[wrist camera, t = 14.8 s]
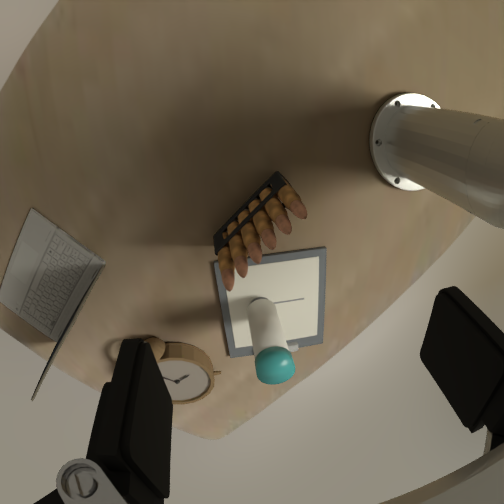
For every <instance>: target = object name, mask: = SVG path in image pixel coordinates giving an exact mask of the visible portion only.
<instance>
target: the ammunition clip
mask: <svg viewBox="0 0 504 504" xmlns="http://www.w3.org/2000/svg"><path fill="white" fill-rule="evenodd" d="M278 197H279V198H280V200H281V201H282V202H283V203H281V202H280V200H279V199H278ZM285 207H286V208H288V209H289V210H290V211H291V212H293V214H294V215H295V216H297V217H298V218H300V219H306V218H307V210H306V208H305V206H304V204H303V203H302V201H301V198H300V196H299V195H298V194H297V193H296V191H295V190H294V189H293V188H292V186H291V185H290V183H289V182H288V181H287V180H286V179H285V178H284V177H283V176H282V175H281V174H280V173H279V172H278V171H276V172H275V173H274V174H273V175H272V176H271V177H270V178H269V179H268V180H267V181H266V182H265V183H264V184H263V185H262V186H261V187H260V188H259V189H258V190H257V191H256V192H255V193H254V194H253V195H252V196H251V197H250V199H249V200H248V201H247V202H246V203H245V204H244V205H243V206H242V207H241V208H240V209H239V210H238V211H237V212H236V213H235V214H234V215H233V216H232V217H231V218H230V219H229V220H228V221H227V222H226V223H225V224H224V225H223V226H222V228H221V229H220V230H219V231H218V232H217V233H216V234H215V235H214V237H213V238H214V248H215V254H216V255H218V263H219V269H220V272H221V276H222V281H223V284H224V287H225V288H226V290H227V291H229V292H230V291H231V290H232V289H233V286H234V281H235V268H236V271H237V273H238V274H239V276H240V277H242V278H245V277H246V275H247V272H248V262H247V261H248V260H247V256H248V253H249V256H250V258H251V259H252V260H253V262H254V263H256V264H259V263H260V262H261V259H262V250H261V245H260V241H261V240H260V237H259V235H260V236H261V238H262V240H263V242H264V243H265V245H266V246H267V247H268V248H269V249H272V250H274V249H275V247H276V236H275V233H274V227H273V224H272V221H273V222H274V223H275V224H276V225H277V227H278V228H279V229H280V230H281V231H282V232H283V233H285V234H290V233H291V231H292V226H291V223H290V220H289V218H288V216H287V211H286V209H285ZM267 212H268V213H267ZM268 214H269V215H268Z"/></svg>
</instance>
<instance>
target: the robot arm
mask: <svg viewBox="0 0 504 504" xmlns="http://www.w3.org/2000/svg"><path fill="white" fill-rule="evenodd" d="M376 140H377V143H375V142H376ZM370 152H371V156H372V159H373V163H374V165H375V167H376V169H377V171H378V172H379V173H380V175H381V176H382V177H383V178H384V179H385V180H386V181H387V182H388V183H390V184H391V185H393V186H395V187H397V188H399V189H402V190H406V191H418V190H421V189H425V188H426V189H428V190H430V191H432V192H434V193H436V194H437V195H439V196H441V197H443V198H445V199H447V200H449V201H450V202H452V203H454V204H456V205H458V206H459V207H461V208H463V209H465V210H467V211H468V212H470V213H472V214H474V215H475V216H477V217H479V218H481V219H482V220H484V221H486V222H487V223H489V224H491V225H493V226H495V227H498V228H502V229H504V119H499V118H494V117H489V116H484V115H479V114H474V113H468V112H462V111H456V110H449V109H442V108H440V107H439V106H438V105H437V103H435V102H434V101H433V100H432V99H430V98H428V97H426V96H424V95H421V94H417V93H403V94H398V95H396V96H393V97H392V98H390V99H389V100H387V101H386V102H385V103H384V104H383V105H382V106H381V107H380V109H379V110H378V112H377V113H376V115H375V117H374V120H373V122H372V125H371V131H370ZM420 358H421V360H422V362H423V363H424V365H425V367H426V368H427V369H428V371H429V372H430V374H431V375H432V377H433V378H434V380H435V381H436V383H437V384H438V386H439V388H440V389H441V391H442V392H443V394H444V395H445V397H446V398H447V400H448V401H449V403H450V405H451V406H452V408H453V409H454V411H455V412H456V414H457V416H458V417H459V419H460V420H461V422H462V424H463V425H464V426H465V427H467V428H469V430H470V431H471V433H474V432H475V431H477V430H479V429H481V428H483V426H484V425H486V427H487V435H486V442H485V448H484V454H483V456H482V457H480V458H478V459H477V460H475V461H473V462H471V463H469V464H467V465H466V466H464V467H462V468H460V469H458V470H456V471H454V472H452V473H450V474H448V475H446V476H444V477H442V478H440V479H438V480H436V481H434V482H431V483H429V484H427V485H425V486H423V487H421V488H418V489H416V490H413V491H411V492H408V493H406V494H404V495H401V496H398V497H396V498H393V499H390V500H388V501H385V502H382V503H379V504H504V333H503V332H502V331H501V330H500V329H499V328H498V327H497V326H496V325H495V324H494V323H493V322H492V321H491V320H490V319H489V318H488V317H487V316H486V315H485V314H484V313H483V312H482V311H481V310H480V309H479V308H478V307H477V306H476V305H475V304H474V303H473V302H472V301H471V300H470V299H469V298H468V297H467V296H466V295H465V294H464V293H463V292H462V291H461V290H460V289H458V288H457V287H455V286H452V287H448V288H444V289H442V290H440V291H439V293H438V295H437V296H436V298H435V301H434V305H433V309H432V313H431V317H430V320H429V324H428V328H427V331H426V334H425V338H424V341H423V344H422V348H421V351H420ZM172 414H173V403H172V398H171V396H170V393H169V391H168V389H167V386H166V384H165V381H164V379H163V376H162V374H161V371H160V369H159V366H158V364H157V361H156V359H155V356H154V353H153V351H152V348H151V345H150V344H149V343H148V342H147V343H144V341H143V339H142V338H137V339H124V340H123V341H122V344H121V348H120V351H119V355H118V358H117V362H116V365H115V369H114V373H113V377H112V380H111V382H106V383H105V384H104V386H103V389H102V392H101V397H100V400H99V404H98V408H97V412H96V416H95V420H94V424H93V428H92V433H91V438H90V441H89V446H88V451H87V456H86V459H83V458H81V459H74V460H72V461H69V462H67V463H66V464H65V465H63V466H62V468H61V469H60V471H59V472H58V475H57V478H56V487H57V489H55V490H54V491H52V492H51V493H50V494H48V495H46V496H45V497H43V498H42V499H40V500H39V501H37V502H36V503H34V504H164V498H168V497H169V493H170V455H171V454H170V453H171V432H172V431H171V430H172Z"/></svg>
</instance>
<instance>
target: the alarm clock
mask: <svg viewBox="0 0 504 504" xmlns="http://www.w3.org/2000/svg"><path fill="white" fill-rule="evenodd" d="M147 342H148V343H149V344H150V345H151V348H152V351H153V353H154V356H155V359H156V361H157V364H158V366H159V369H160V371H161V374H162V376H163V379H164V381H165V384H166V386H167V389H168V391H169V393H170V396H171V398H172V403H173V404H187V403H193V402H196V401H198V400H201V399H203V398H204V397H205V396H207V395H208V394H209V393H210V392H211V390H212V389H213V387H214V375H219V374H221V371H213V365H212V363H211V360H210V358H209V357H208V355H207V354H206V353H205V352H204V351H202V350H201V349H199V348H197V347H195V346H192V345H188V344H184V343H166V344H165V343H164V342H163V341H162V340H161V339H159V338H156V337H153V338H148V339H146V340H145V341H144V343H147Z"/></svg>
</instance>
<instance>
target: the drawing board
mask: <svg viewBox="0 0 504 504" xmlns="http://www.w3.org/2000/svg"><path fill="white" fill-rule="evenodd" d="M247 260H248V261H247V262H248V272H247V275H246V277H245V278H242V277H240V276H239V274H238V273H237V271H236V268H235V281H234V286H233V289H232V290H231V291H230V292H229V291H227V290H226V288H225V287H224V284H223V281H222V276H221V272H220V269H219V263H218V261H214V268H215V274H216V280H217V286H218V292H219V297H220V303H221V309H222V315H223V320H224V326H225V331H226V337H227V342H228V348H229V353H230V358H234V357H242V356H249V355H254V351H253V345H252V339H251V334H250V328H249V322H248V317H247V308H248V307H249V305H250V303H251V302H252V300H254V299H255V298H258V297H265V298H267V299H268V300H270V301H272V302H273V303H274V304H275V306H276V309H277V313H278V316H279V319H280V322H281V326H282V329H283V332H284V335H285V339H286V342H287V345H288V349H289V351H290V352H293V351H298V348H300V347H305V346H311V345H316V344H321V343H323V331H324V311H325V287H326V247H317V248H310V249H302V250H295V251H287V252H280V253H272V254H265V255H262V259H261V262H260V263H259V264H256V263H254V262H253V260H252V259H251V258H250V257H247Z"/></svg>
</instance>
